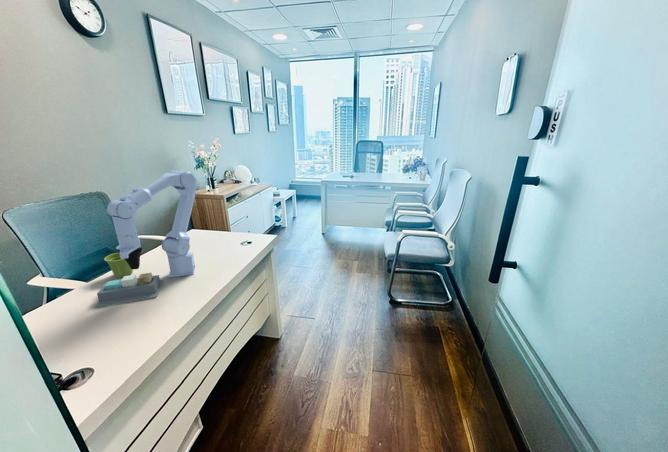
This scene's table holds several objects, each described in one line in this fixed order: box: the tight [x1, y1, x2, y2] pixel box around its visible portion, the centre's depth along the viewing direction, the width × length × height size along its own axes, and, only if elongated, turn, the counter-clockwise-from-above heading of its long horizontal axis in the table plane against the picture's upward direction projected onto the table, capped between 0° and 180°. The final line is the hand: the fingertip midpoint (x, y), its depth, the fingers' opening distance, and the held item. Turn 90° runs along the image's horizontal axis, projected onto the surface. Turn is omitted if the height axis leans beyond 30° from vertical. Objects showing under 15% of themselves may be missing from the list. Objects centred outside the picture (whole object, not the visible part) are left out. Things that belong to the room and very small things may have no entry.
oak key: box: [137, 272, 153, 285], centre depth 99 cm, size 4×4×4 cm
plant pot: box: [103, 251, 133, 279], centre depth 110 cm, size 9×9×9 cm
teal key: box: [105, 279, 122, 290], centre depth 96 cm, size 4×4×4 cm
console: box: [94, 274, 164, 309], centre depth 98 cm, size 18×13×4 cm
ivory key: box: [120, 274, 138, 287], centre depth 97 cm, size 4×4×4 cm
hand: (135, 268), depth 97 cm, fingers closed
